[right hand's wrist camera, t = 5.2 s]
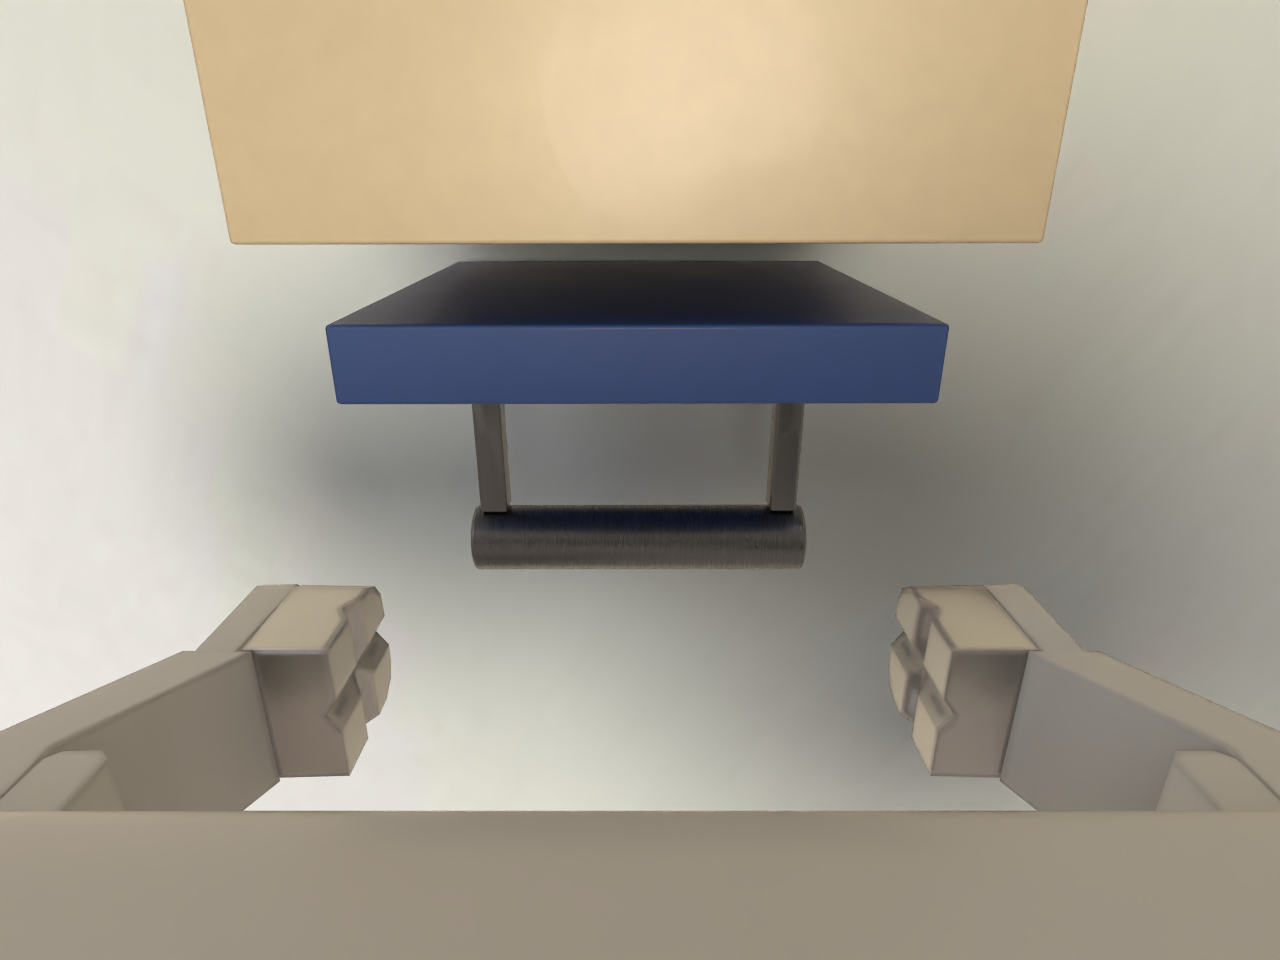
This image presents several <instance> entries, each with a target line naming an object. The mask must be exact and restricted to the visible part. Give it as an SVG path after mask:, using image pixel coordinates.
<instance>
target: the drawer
mask: <svg viewBox="0 0 1280 960" xmlns="http://www.w3.org/2000/svg"><path fill="white" fill-rule="evenodd" d="M948 331H949V326H948V324H946V323H944V322H942V321H940V320H938V319H936V318H933V317H931V316H929V315H927V314H925V313H923V312H921V311H919V310H917V309H915V308H913V307H911V306H909V305H907V304H905V303H903V302H901V301H899V300H897V299H894V298H892V297H890V296H888V295H886V294H884V293H882V292H880V291H878V290H876V289H874V288H872V287H870V286H868V285H866V284H864V283H862V282H860V281H858V280H855V279H853V278H851V277H849V276H847V275H845V274H843V273H841V272H839V271H837V270H835V269H833V268H831V267H829V266H827V265H825V264H823V263H821V262H818V261H647V262H457V263H455V264H453V265H451V266H449V267H447V268H445V269H443V270H441V271H439V272H437V273H435V274H433V275H431V276H428V277H426V278H424V279H422V280H420V281H418V282H416V283H414V284H412V285H410V286H408V287H406V288H404V289H402V290H399V291H397V292H395V293H393V294H391V295H389V296H387V297H385V298H383V299H381V300H379V301H377V302H375V303H373V304H370V305H368V306H366V307H364V308H362V309H360V310H358V311H356V312H354V313H352V314H350V315H348V316H346V317H344V318H342V319H339V320H337V321H335V322H333V323H331V324H329V325H327V326H326V335H327V342H328V348H329V354H330V361H331V367H332V374H333V380H334V386H335V393H336V399H337V402H338V403H339V404H472V411H473V423H474V434H475V445H476V457H477V468H478V480H479V491H480V502H481V505H480V506H477V507H476V509H475V512H474V515H473V519H472V527H471V551H472V558H473V562H474V565H475V567H476V568H478V569H798V568H800V567H802V565H803V562H804V559H805V553H806V525H805V518H804V514H803V511H802V508H801V507H800V506H799V505H796V500H797V488H798V476H799V463H800V451H801V439H802V427H803V415H804V403H935V402H937V401H938V397H939V391H940V384H941V377H942V371H943V364H944V357H945V351H946V344H947V337H948ZM700 403H773V404H772V419H771V434H770V449H769V465H768V480H767V495H766V501H767V504H768V505H510V503H511V492H510V478H509V464H508V450H507V436H506V422H505V408H504V404H700Z"/></svg>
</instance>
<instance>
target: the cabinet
mask: <svg viewBox="0 0 1280 960" xmlns="http://www.w3.org/2000/svg"><path fill="white" fill-rule="evenodd" d="M183 1H184V6H185V11H186V16H187V21H188V26H189V31H190V37H191V42H192V47H193V52H194V57H195V62H196V67H197V73H198V78H199V83H200V88H201V93H202V98H203V103H204V108H205V114H206V119H207V124H208V129H209V134H210V139H211V144H212V149H213V155H214V160H215V165H216V170H217V175H218V180H219V185H220V190H221V196H222V201H223V206H224V211H225V216H226V221H227V226H228V232H229V237H230V241H231V243H233V244H727V243H1039V242H1041V241H1042V240H1043V236H1044V231H1045V226H1046V220H1047V215H1048V210H1049V205H1050V199H1051V194H1052V189H1053V183H1054V178H1055V173H1056V167H1057V162H1058V157H1059V151H1060V146H1061V141H1062V135H1063V130H1064V125H1065V119H1066V114H1067V109H1068V104H1069V98H1070V93H1071V88H1072V82H1073V77H1074V72H1075V66H1076V61H1077V56H1078V50H1079V45H1080V40H1081V34H1082V29H1083V24H1084V18H1085V13H1086V8H1087V3H1088V0H183Z"/></svg>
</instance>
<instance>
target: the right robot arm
mask: <svg viewBox="0 0 1280 960" xmlns="http://www.w3.org/2000/svg"><path fill="white" fill-rule="evenodd" d="M895 616H896V618H897V620H898V621H899V623H900V625H901V627H902V628H903V630H904V631H903V632H902V634H901V635H900V636H899V637H898V638H897V639H896V640H895V641H894V642H893V643H892V644H891V651H890V660H889V676H890V687H891V691H892V695H893V698H894V702H895V704H896V706H897V708H898V710H899V713H900V714H901V715H902V716H904V717H905V718H907V719H908V720H910V721H911V722H913V723H914V727H913V733H912V740H913V742H914V744H915V746H916V748H917V750H918V752H919V754H920V756H921V758H922V760H923V762H924V764H925V766H926V768H927V770H928V772H929V774H930V776H961V777H998V778H1000V781H1001V782H1002V783H1003V784H1005V785H1006V786H1007V787H1008V788H1010V789H1011V790H1012V791H1013V792H1015V793H1016V794H1017V795H1018V796H1020V797H1021V798H1022V799H1023V800H1025V801H1026V802H1027V803H1028V804H1030V805H1031V806H1032V807H1033V808H1035V809H1036V810H1037V811H243V810H244V809H246V808H247V807H248V806H249V805H251V804H252V803H253V802H254V801H256V800H257V799H258V798H259V797H261V796H262V795H263V794H264V793H266V792H267V791H268V790H269V789H271V788H272V787H273V786H274V785H276V784H277V783H278V782H279V781H280V778H282V777H317V776H350V774H351V772H352V770H353V768H354V766H355V764H356V762H357V760H358V758H359V756H360V754H361V752H362V749H363V747H364V745H365V743H366V741H367V739H368V734H367V727H366V723H367V722H369V721H370V720H372V719H373V718H375V717H376V716H378V715H379V714H380V712H381V710H382V708H383V706H384V703H385V701H386V699H387V694H388V689H389V684H390V679H391V658H390V650H389V644H388V643H387V642H386V641H385V640H384V639H383V638H382V637H381V636H380V635H379V634H378V633H377V632H376V630H377V628H378V626H379V625H380V623H381V621H382V619H383V618H384V610H383V604H382V599H381V594H380V593H379V591H378V590H377V589H376V587H375V586H326V585H301V586H300V585H298V584H288V585H263V586H257V587H256V588H255V589H254V590H253V591H252V592H251V593H250V594H249V595H248V596H247V597H246V598H245V599H244V600H243V601H242V602H241V603H240V604H239V605H238V607H237V608H236V609H235V610H234V611H233V612H232V613H231V614H230V615H229V616H228V617H227V618H226V619H225V620H224V621H223V622H222V623H221V624H220V625H219V627H218V628H217V629H216V630H215V631H214V632H213V633H212V634H211V635H210V636H209V637H208V638H207V639H206V640H205V641H204V642H203V643H202V644H201V646H200V647H199V648H198V649H197V650H196V651H182V652H180V653H177V654H175V655H173V656H171V657H168V658H166V659H164V660H162V661H159V662H157V663H155V664H152V665H150V666H148V667H146V668H143V669H141V670H139V671H137V672H134V673H132V674H130V675H127V676H125V677H123V678H121V679H118V680H116V681H114V682H111V683H109V684H107V685H105V686H102V687H100V688H98V689H96V690H93V691H91V692H89V693H86V694H84V695H82V696H80V697H77V698H75V699H73V700H71V701H68V702H66V703H64V704H61V705H59V706H57V707H55V708H52V709H50V710H48V711H46V712H43V713H41V714H39V715H36V716H34V717H32V718H30V719H27V720H25V721H23V722H20V723H18V724H16V725H14V726H11V727H9V728H7V729H5V730H2V731H0V960H1280V732H1279V731H1277V730H1275V729H1273V728H1270V727H1268V726H1266V725H1263V724H1261V723H1259V722H1257V721H1254V720H1252V719H1250V718H1248V717H1245V716H1243V715H1241V714H1238V713H1236V712H1234V711H1232V710H1229V709H1227V708H1225V707H1223V706H1220V705H1218V704H1216V703H1214V702H1211V701H1209V700H1207V699H1204V698H1202V697H1200V696H1198V695H1195V694H1193V693H1191V692H1189V691H1186V690H1184V689H1182V688H1180V687H1177V686H1175V685H1173V684H1170V683H1168V682H1166V681H1164V680H1161V679H1159V678H1157V677H1155V676H1152V675H1150V674H1148V673H1146V672H1143V671H1141V670H1139V669H1136V668H1134V667H1132V666H1130V665H1127V664H1125V663H1123V662H1121V661H1118V660H1116V659H1114V658H1112V657H1109V656H1107V655H1105V654H1102V653H1100V652H1098V651H1084V650H1083V649H1082V648H1081V647H1080V646H1079V645H1078V643H1077V642H1076V641H1075V640H1074V639H1073V638H1072V637H1071V636H1070V635H1069V634H1068V633H1067V632H1066V631H1065V630H1064V629H1063V628H1062V627H1061V626H1060V624H1059V623H1058V622H1057V621H1056V620H1055V619H1054V618H1053V617H1052V616H1051V615H1050V614H1049V613H1048V612H1047V611H1046V610H1045V609H1044V608H1043V606H1042V605H1041V604H1040V603H1039V602H1038V601H1037V600H1036V599H1035V598H1034V597H1033V596H1032V595H1031V594H1030V593H1029V592H1028V591H1027V590H1026V589H1025V587H1022V586H1019V585H1016V584H1006V585H965V586H924V587H906V588H902V590H901V593H900V595H899V598H898V602H897V609H896V615H895Z"/></svg>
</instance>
